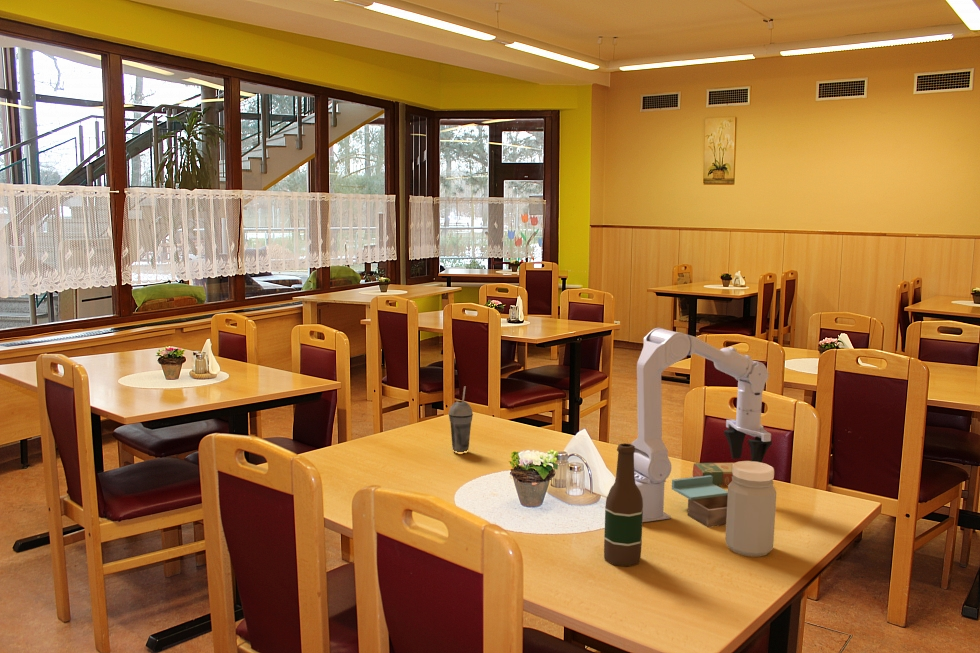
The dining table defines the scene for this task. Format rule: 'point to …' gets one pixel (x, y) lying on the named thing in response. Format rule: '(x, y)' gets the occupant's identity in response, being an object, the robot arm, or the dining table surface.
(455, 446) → the beverage cup
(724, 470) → the carton
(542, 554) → the dining table surface
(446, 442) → the dining table surface
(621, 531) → the beer bottle
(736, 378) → the robot arm
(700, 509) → the box
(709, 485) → the lid
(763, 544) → the jar
